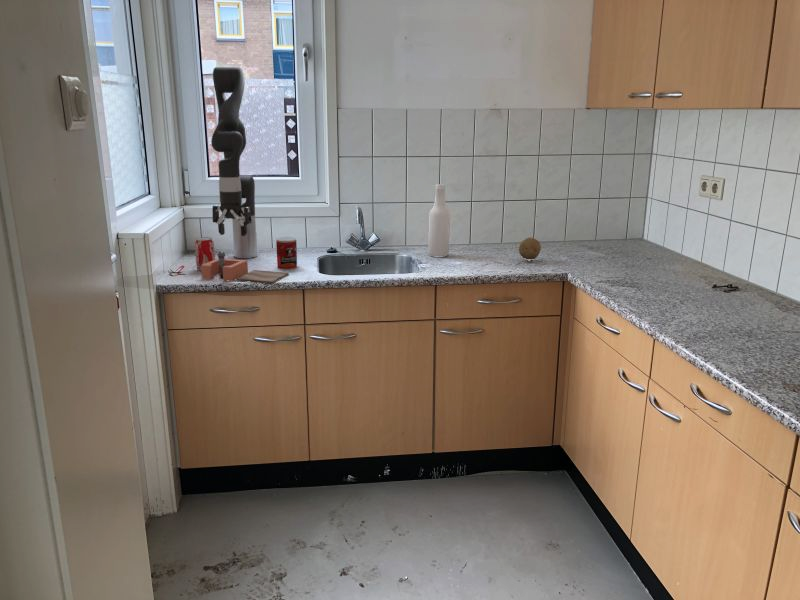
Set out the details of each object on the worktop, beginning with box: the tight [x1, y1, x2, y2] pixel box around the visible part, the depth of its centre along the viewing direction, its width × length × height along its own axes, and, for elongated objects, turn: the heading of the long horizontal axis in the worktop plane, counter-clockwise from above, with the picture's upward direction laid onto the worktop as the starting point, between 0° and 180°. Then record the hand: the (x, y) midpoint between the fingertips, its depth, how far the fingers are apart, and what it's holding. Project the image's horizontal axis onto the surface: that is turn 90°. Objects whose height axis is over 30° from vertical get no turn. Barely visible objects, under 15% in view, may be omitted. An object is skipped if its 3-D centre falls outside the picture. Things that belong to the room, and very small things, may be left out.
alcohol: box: [427, 183, 451, 257], centre depth 277 cm, size 9×9×30 cm
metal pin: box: [217, 250, 226, 279], centre depth 238 cm, size 3×3×10 cm
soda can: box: [194, 236, 216, 272], centre depth 249 cm, size 7×7×12 cm
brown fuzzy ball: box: [518, 237, 542, 260], centre depth 270 cm, size 9×9×10 cm
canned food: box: [275, 236, 298, 270], centre depth 255 cm, size 8×8×11 cm
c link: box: [200, 257, 249, 282], centre depth 240 cm, size 12×12×5 cm
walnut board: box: [235, 269, 290, 285], centre depth 239 cm, size 14×14×1 cm
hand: (232, 235), depth 237 cm, fingers open, 8 cm apart
